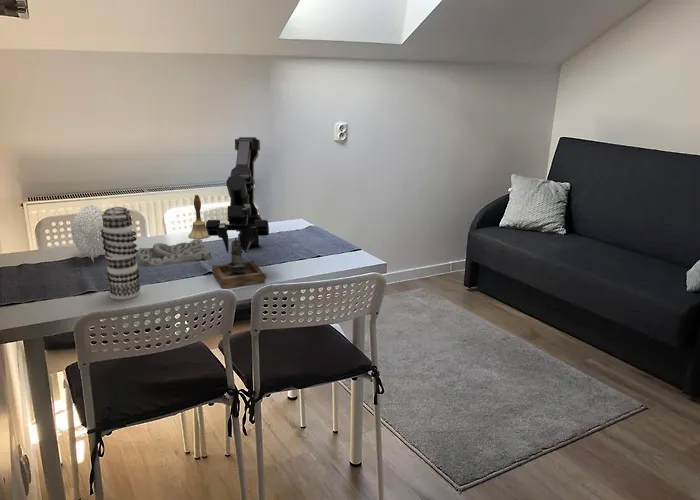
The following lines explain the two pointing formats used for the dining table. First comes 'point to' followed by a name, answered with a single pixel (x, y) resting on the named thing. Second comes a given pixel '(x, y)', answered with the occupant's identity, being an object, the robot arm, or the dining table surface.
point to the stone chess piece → (236, 259)
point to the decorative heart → (88, 231)
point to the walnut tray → (251, 277)
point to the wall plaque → (173, 253)
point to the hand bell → (198, 223)
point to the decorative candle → (120, 253)
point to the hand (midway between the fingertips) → (236, 252)
